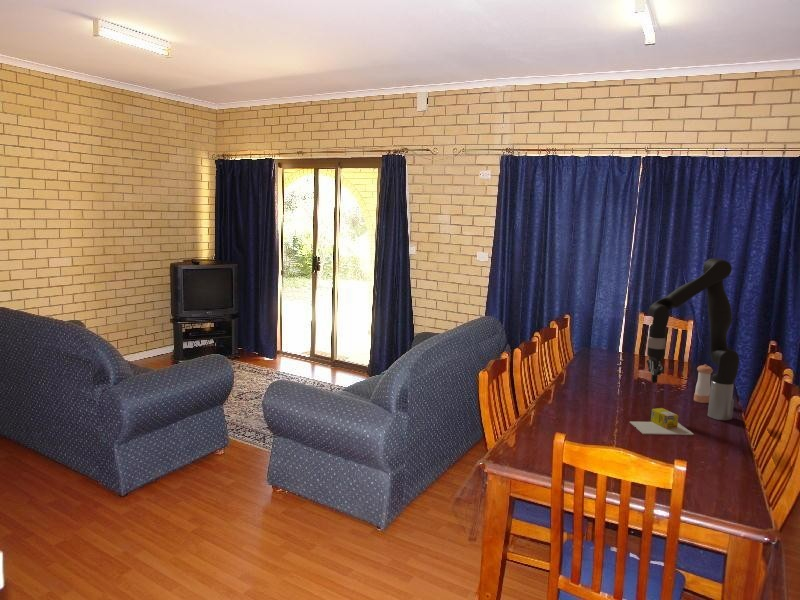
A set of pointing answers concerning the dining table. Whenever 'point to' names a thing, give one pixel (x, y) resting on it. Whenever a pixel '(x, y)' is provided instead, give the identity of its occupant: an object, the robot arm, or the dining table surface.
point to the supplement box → (664, 418)
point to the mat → (660, 429)
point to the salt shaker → (703, 384)
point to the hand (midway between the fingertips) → (654, 382)
